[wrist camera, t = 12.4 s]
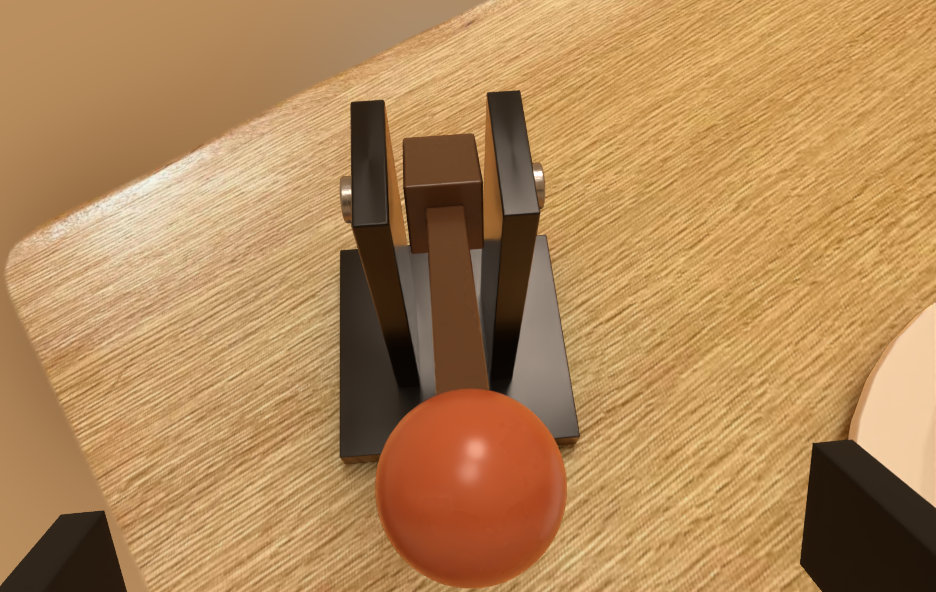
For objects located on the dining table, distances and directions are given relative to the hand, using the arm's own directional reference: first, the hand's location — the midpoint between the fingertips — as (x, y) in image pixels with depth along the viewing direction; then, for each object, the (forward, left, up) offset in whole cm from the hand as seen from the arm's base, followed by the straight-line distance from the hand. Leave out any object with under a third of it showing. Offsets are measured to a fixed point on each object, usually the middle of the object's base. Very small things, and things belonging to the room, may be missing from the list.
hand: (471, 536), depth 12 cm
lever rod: (0, +5, -3) cm, 6 cm away
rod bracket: (0, +10, -15) cm, 18 cm away
